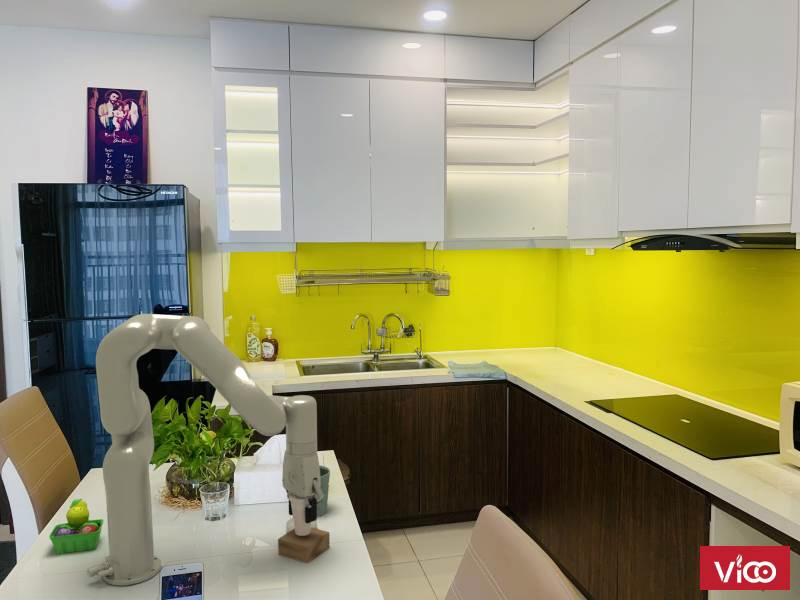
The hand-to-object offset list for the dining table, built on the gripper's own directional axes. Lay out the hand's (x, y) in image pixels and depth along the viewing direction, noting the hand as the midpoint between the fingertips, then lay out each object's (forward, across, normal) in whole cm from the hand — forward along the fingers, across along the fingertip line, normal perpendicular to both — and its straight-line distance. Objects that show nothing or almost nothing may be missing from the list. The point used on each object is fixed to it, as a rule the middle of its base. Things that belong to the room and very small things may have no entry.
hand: (302, 516), depth 158 cm
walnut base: (+9, 0, 0) cm, 9 cm away
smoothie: (+4, 0, 0) cm, 4 cm away
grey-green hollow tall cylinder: (+9, -17, +16) cm, 25 cm away
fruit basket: (+9, -44, -38) cm, 59 cm away
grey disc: (+9, -9, +6) cm, 14 cm away
